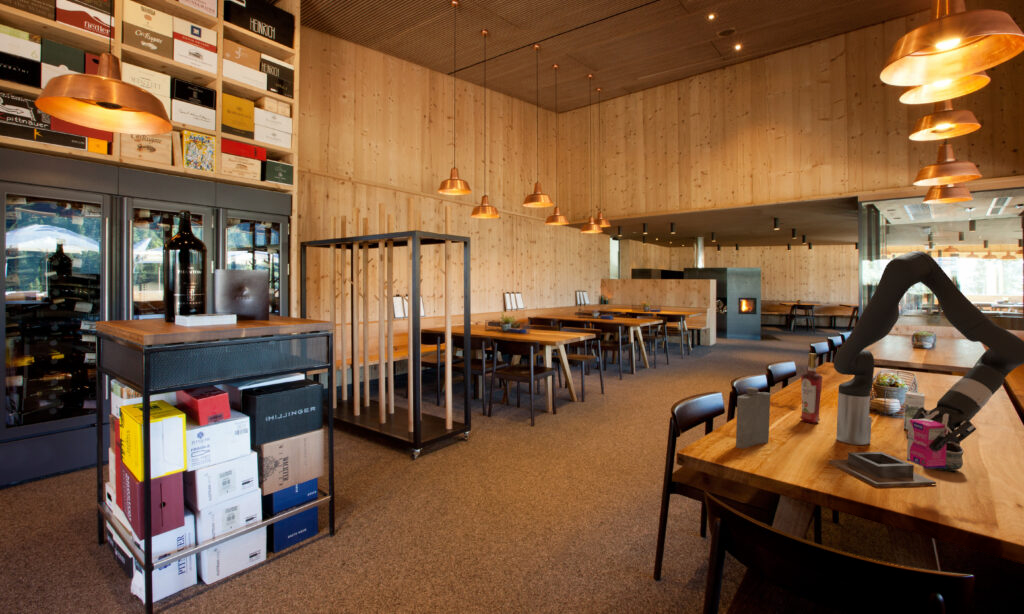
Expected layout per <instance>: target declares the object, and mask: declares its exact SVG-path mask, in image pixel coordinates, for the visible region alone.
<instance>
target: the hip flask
mask: <svg viewBox="0 0 1024 614" xmlns="http://www.w3.org/2000/svg"><path fill="white" fill-rule="evenodd" d="M746 392H747V393H745V394H742V395H738V396H737V403H736V405H737V406H736V427H735V428H736V431H735V432H736V434H735V448H737V449H739V448H741V449H740V450H745V449H744V448H746V449H747V447H748V448H751V447H753V446H756V444H757V445H761V444H768V443H769V441H770V440H769V437H770V415H771V410H770V409H771V393H770V392H766V391H761V392H760V391H759V387H756V386H747V387H746Z"/></svg>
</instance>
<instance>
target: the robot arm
mask: <svg viewBox="0 0 1024 614" xmlns="http://www.w3.org/2000/svg"><path fill="white" fill-rule="evenodd" d="M919 283H921V284H922V285H924V286H925V287H926V288H927V289H929V290H930V291H931V293H932V294H933V295H934V296H935V298H936V300H937V301H938V303H939V306H940V309H941V311H942V314H943V315H944V317H945V319H946V320H947V321H948V322H949V323H950V324H951V326H953V328H955V329H956V330H957V331H958V332H959V333H960V334H961V335H963V336H964V337H965V338H966V339H967V340H968V341H970V342H973V343H977V342H980V343H981V344H983V345H984V346H986V347H987V348H988V349H986V350H985V351H984V352H983V354H982V355H980V357H979V358H978V360H976V362H975V364H974V366H973V367H972V368H970V369H969V370H968V371H967V372H966V373H965V374H964V375H963V376H962V378H960V379H959V380H958V381H957V382H955V383H954V384H953V385H952V386H951V387H950V388H949V389H948V390H947V391H946V392H945V393H944V394H943V395H942V397H940V398H939V399H938V400H937V403H936V407H934V408H931V410H930V409H925V407H924V408H923V407H921V408H919V409H918V411H917V412H916V414H915V415H914V417H913V418H912V419H928V420H933V421H936V422H939V423H942V424H943V425H944V424H945V426H944V430H943V431H942V432H941V434H940V436H938V437H937V438H936V439H935V440H934V441H933V442H932V443H931V444H930V445H929V447H930V448H931V450H932V451H935V452H937V451H939V450H941V449H942V448H943V447H944V446H945V445H946V444H947V443H950V442H955V443H960V444H961V442H963V441H964V440H965V439H966V438H968V437H969V436H970V435H972V434H973V433H974V432H975V431H977V427H976V426H975V425H974V424H973V423H972V422H971V420H972V419H974V417H975V416H976V415H977V413H979V412H980V411H981V410H982V409H983V408H984V407H985V406H986V405H987V404H988V402H989V401H990V400H991V398H992V396H994V394H995V393H996V392H997V391H998V390H999V389H1000V388H1001V387H1002V386H1003V384H1004V382H1005V379H1006V377H1007V376H1008V375H1010V373H1011V372H1012V371H1014V370H1015V369H1016V368H1018V367H1021V366H1022V365H1024V340H1023V339H1022V338H1020V337H1019V336H1017V335H1016V334H1014V333H1013V332H1010V330H1009V331H1008V329H1006V328H1004V327H1001V326H999V325H998V324H996V323H995V322H994V321H993V320H992V319H991V318H989V317H988V316H987V315H986V314H985V313H983V312H982V311H981V310H980V309H979V308H978V307H977V306H976V305H975V304H974V303H972V302H971V301H970V299H968V297H966V295H965V294H963V292H962V291H961V290H960V289H959V288H958V287H957V285H956V284H955V283H954V281H952V279H951V278H950V277H949V275H947V273H946V272H945V271H944V269H943V268H942V267H941V266H940V265H939V264H938V262H937V260H935V258H933V257H932V256H931V255H930V254H929V253H927V252H924V251H921V250H913V251H909V252H907V253H904V254H902V255H899V256H897V257H894V258H893V259H891V260H890V261H889V262H888V263H887V264H886V265H885V267H884V269H883V272H882V274H881V277H880V280H879V282H878V284H877V287H876V289H875V291H874V293H873V294H872V296H871V298H870V300H869V301H868V303H867V305H866V306H865V308H864V309H863V311H862V312H861V314H860V317H859V318H858V320H857V322H856V324H855V326H854V328H853V329H852V330H851V332H850V333H849V336H848V337H847V338H846V340H844V342H843V343H842V344H841V346H840V347H839V348H838V350H837V351H836V353H835V355H834V358H833V368H834V370H835V371H836V373H838V374H841V375H844V376H845V375H847V376H853V378H851V379H850V380H847V381H845V382H842V383H840V384H839V385H838V395H837V416H836V417H837V418H836V421H837V422H836V440H837V441H839V442H841V443H845V444H848V445H849V444H850V445H855V446H856V445H857V446H865V445H868V444H871V440H872V439H871V437H872V436H871V435H872V421H873V420H872V419H873V418H872V416H871V415H870V406H871V405H870V402H871V400H870V399H871V391H872V388H873V383H874V372H875V358H874V355H873V353H872V352H871V351H870V350H869V349H866V348H869V347H870V346H872V345H874V344H876V343H878V342H879V341H881V340H883V339H884V338H886V337H887V336H888V335H889V334H890V332H891V331H892V330H893V328H894V327H895V325H896V324H897V322H898V320H899V318H900V306H899V305H900V302H901V301H902V299H903V297H904V296H905V295H906V293H907V292H908V291H909V289H911V288H912V287H913V286H915V285H916V284H919ZM956 436H958V437H956ZM906 439H907V440H908V434H907V435H906Z"/></svg>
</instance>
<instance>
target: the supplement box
mask: <svg viewBox="0 0 1024 614" xmlns="http://www.w3.org/2000/svg"><path fill="white" fill-rule="evenodd" d="M944 426H945V424H944V425H943V424H942V423H939V422H936V421H933V420H928V419H911V420H909V426H908V430H907V435H908V439H907V446H906V447H907V448H906V450H907V451H906V461H907V462H908V461H909V462H910V463H913V464H916V465H918V466H919V467H922V468H925V469H936V468H945V465H946V445H947V444H946V445H945V446H944V447H943V448H942V449H941V450H939V451H937V452H935V451H932V450H931V448H930V447H929V445H930V444H931V443H932V442H933V441H934V440H935V439H936V438H937V437H938V436H940V434H941V432H942V431H943V430H944Z"/></svg>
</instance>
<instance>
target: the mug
mask: <svg viewBox="0 0 1024 614" xmlns="http://www.w3.org/2000/svg"><path fill="white" fill-rule="evenodd" d="M958 436H959V435H957V436H956V437H958ZM964 452H965V451H964V449H963V447H962V446H961V442H960V443H955V442H950V443H947V445H946V465H945V468H937V470H939V469H940V471H947V470H948V472H949V471H951V472H952V471H958V470H960V469H962V467H963V466H964V461H963V460H964V459H963V455H964Z"/></svg>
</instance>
